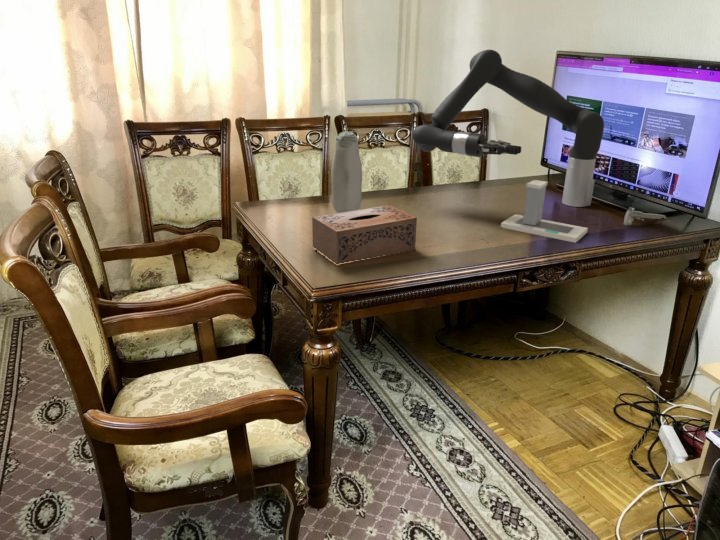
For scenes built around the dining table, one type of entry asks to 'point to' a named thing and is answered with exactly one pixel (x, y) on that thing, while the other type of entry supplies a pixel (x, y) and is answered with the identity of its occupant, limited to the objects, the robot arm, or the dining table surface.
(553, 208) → the dining table surface
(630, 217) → the caliper
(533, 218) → the switch tab
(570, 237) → the switch panel
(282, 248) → the dining table surface
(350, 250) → the tissue box cover
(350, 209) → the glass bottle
